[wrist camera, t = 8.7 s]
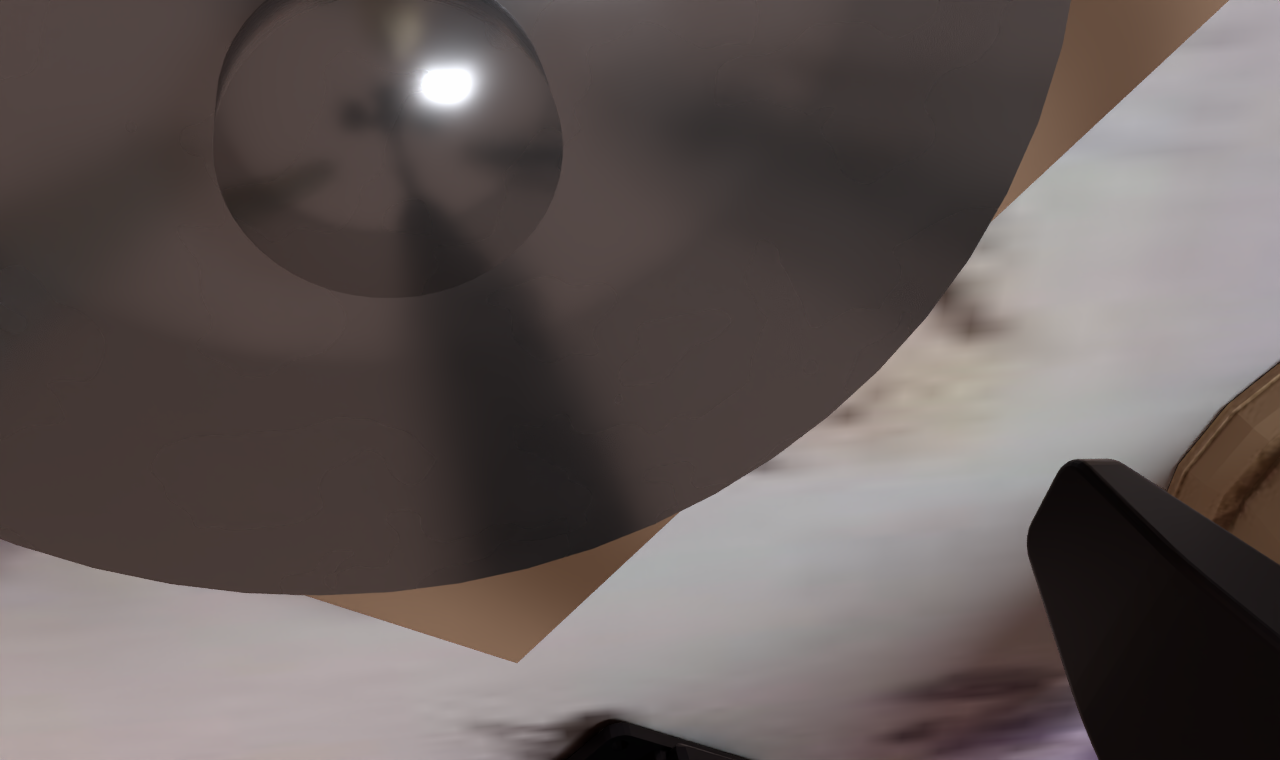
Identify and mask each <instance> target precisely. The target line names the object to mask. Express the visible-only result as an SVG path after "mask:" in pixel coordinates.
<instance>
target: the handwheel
mask: <svg viewBox="0 0 1280 760" xmlns="http://www.w3.org/2000/svg"><path fill="white" fill-rule="evenodd" d="M1070 3H1071V0H0V538H1V539H3V540H6V541H8V542H11V543H13V544H16V545H19V546H22V547H25V548H29V549H32V550H35V551H39V552H42V553H45V554H49V555H52V556H55V557H59V558H62V559H65V560H69V561H72V562H75V563H79V564H82V565H85V566H89V567H92V568H96V569H101V570H106V571H111V572H116V573H120V574H125V575H130V576H135V577H140V578H144V579H149V580H154V581H159V582H164V583H169V584H176V585H184V586H192V587H201V588H209V589H217V590H226V591H234V592H242V593H262V594H290V595H318V596H320V595H341V594H363V593H384V592H396V591H404V590H411V589H419V588H427V587H435V586H442V585H450V584H458V583H463V582H468V581H473V580H477V579H482V578H487V577H491V576H496V575H500V574H505V573H510V572H514V571H519V570H524V569H528V568H531V567H535V566H538V565H541V564H545V563H548V562H551V561H554V560H558V559H561V558H564V557H568V556H571V555H574V554H577V553H581V552H584V551H587V550H591V549H594V548H596V547H599V546H601V545H604V544H606V543H609V542H611V541H614V540H616V539H619V538H621V537H624V536H626V535H629V534H631V533H634V532H636V531H639V530H641V529H644V528H646V527H649V526H651V525H654V524H656V523H658V522H660V521H662V520H664V519H666V518H668V517H670V516H672V515H674V514H676V513H678V512H680V511H682V510H684V509H686V508H688V507H690V506H692V505H694V504H696V503H698V502H700V501H702V500H704V499H706V498H708V497H710V496H712V495H714V494H716V493H717V492H719V491H720V490H722V489H724V488H725V487H727V486H729V485H730V484H732V483H733V482H735V481H737V480H738V479H740V478H741V477H743V476H745V475H746V474H748V473H750V472H751V471H753V470H754V469H756V468H758V467H759V466H761V465H762V464H764V463H766V462H767V461H769V460H771V459H772V458H774V457H775V456H776V455H778V454H779V453H780V452H782V451H783V450H784V449H786V448H787V447H788V446H790V445H791V444H792V443H794V442H795V441H796V440H798V439H799V438H800V437H802V436H803V435H804V434H805V433H807V432H808V431H809V430H811V429H812V428H813V427H815V426H816V425H817V424H819V423H820V422H821V421H823V420H824V419H825V418H827V417H828V416H829V415H830V414H831V413H832V412H833V411H835V410H836V409H837V408H838V407H839V406H840V405H841V404H842V403H843V402H844V401H846V400H847V399H848V398H849V397H850V396H851V395H852V394H853V393H854V392H855V391H856V390H858V389H859V388H860V387H861V386H862V385H863V384H864V383H865V382H866V381H867V380H869V379H870V378H871V377H872V376H873V375H874V374H875V373H876V372H877V371H878V370H879V369H880V368H881V367H882V366H883V365H884V364H885V363H886V362H887V360H888V359H889V358H890V357H891V356H892V355H893V354H894V353H895V352H896V350H897V349H898V348H899V347H900V346H901V345H902V344H903V343H904V342H905V341H906V339H907V338H908V337H909V336H910V335H911V334H912V333H913V332H914V331H915V329H916V328H917V327H918V326H919V325H920V324H921V323H922V322H923V321H924V319H925V318H926V317H927V316H928V314H929V313H930V312H931V310H932V309H933V308H934V306H935V305H936V303H937V302H938V301H939V299H940V298H941V297H942V295H943V294H944V293H945V291H946V290H947V288H948V287H949V286H950V284H951V283H952V282H953V280H954V279H955V278H956V276H957V275H958V273H959V272H960V271H961V269H962V268H963V267H964V265H965V264H966V263H967V261H968V260H969V258H970V257H971V255H972V253H973V251H974V250H975V248H976V246H977V245H978V243H979V241H980V239H981V238H982V236H983V234H984V232H985V231H986V229H987V227H988V226H989V224H990V222H991V220H992V219H993V217H994V215H995V214H996V212H997V210H998V208H999V207H1000V205H1001V203H1002V202H1003V200H1004V198H1005V196H1006V195H1007V193H1008V190H1009V188H1010V186H1011V184H1012V181H1013V179H1014V177H1015V174H1016V172H1017V170H1018V168H1019V165H1020V163H1021V161H1022V159H1023V156H1024V154H1025V152H1026V150H1027V147H1028V145H1029V143H1030V141H1031V138H1032V136H1033V134H1034V132H1035V129H1036V127H1037V125H1038V122H1039V119H1040V116H1041V113H1042V110H1043V106H1044V103H1045V100H1046V97H1047V94H1048V90H1049V87H1050V84H1051V81H1052V78H1053V74H1054V71H1055V68H1056V65H1057V62H1058V58H1059V55H1060V52H1061V49H1062V46H1063V40H1064V35H1065V30H1066V24H1067V19H1068V14H1069V8H1070Z"/></svg>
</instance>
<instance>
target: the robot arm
mask: <svg viewBox="0 0 1280 760" xmlns="http://www.w3.org/2000/svg"><path fill="white" fill-rule="evenodd" d="M1027 550H1028V556H1029V560H1030V563H1031V566H1032V570H1033V573H1034V576H1035V579H1036V582H1037V585H1038V588H1039V591H1040V594H1041V598H1042V601H1043V604H1044V607H1045V610H1046V613H1047V616H1048V619H1049V622H1050V626H1051V629H1052V632H1053V635H1054V638H1055V641H1056V644H1057V647H1058V651H1059V654H1060V657H1061V660H1062V663H1063V666H1064V669H1065V672H1066V675H1067V679H1068V682H1069V685H1070V688H1071V691H1072V694H1073V697H1074V699H1075V702H1076V705H1077V708H1078V711H1079V714H1080V716H1081V719H1082V721H1083V724H1084V726H1085V729H1086V731H1087V734H1088V736H1089V739H1090V741H1091V744H1092V746H1093V748H1094V750H1095V753H1096V755H1097V757H1098V760H1280V565H1279V564H1278V563H1276V562H1275V561H1273V560H1272V559H1270V558H1269V557H1267V556H1265V555H1264V554H1262V553H1261V552H1259V551H1258V550H1256V549H1255V548H1253V547H1251V546H1250V545H1248V544H1247V543H1245V542H1244V541H1242V540H1241V539H1239V538H1238V537H1236V536H1234V535H1233V534H1231V533H1230V532H1228V531H1227V530H1225V529H1224V528H1222V527H1220V526H1219V525H1217V524H1216V523H1214V522H1213V521H1211V520H1210V519H1208V518H1207V517H1205V516H1203V515H1202V514H1200V513H1199V512H1197V511H1196V510H1194V509H1193V508H1191V507H1189V506H1188V505H1186V504H1185V503H1183V502H1182V501H1180V500H1179V499H1177V498H1176V497H1174V496H1172V495H1171V494H1169V493H1168V492H1166V491H1165V490H1163V489H1162V488H1160V487H1158V486H1157V485H1155V484H1154V483H1152V482H1151V481H1149V480H1148V479H1146V478H1145V477H1143V476H1141V475H1140V474H1138V473H1137V472H1135V471H1134V470H1132V469H1131V468H1129V467H1127V466H1126V465H1124V464H1123V463H1121V462H1119V461H1116V460H1112V459H1075V460H1071V461H1068V462H1067V463H1066V464H1065V465H1063V466H1062V467H1061V468H1060V470H1059V471H1058V473H1057V475H1056V476H1055V478H1054V480H1053V482H1052V484H1051V486H1050V488H1049V490H1048V492H1047V494H1046V496H1045V497H1044V499H1043V501H1042V503H1041V505H1040V507H1039V509H1038V511H1037V513H1036V515H1035V517H1034V518H1033V520H1032V522H1031V525H1030V527H1029V530H1028V535H1027ZM568 760H747V759H744V758H741V757H738V756H734V755H731V754H728V753H724V752H721V751H718V750H715V749H711V748H708V747H705V746H701V745H698V744H695V743H692V742H688V741H685V740H682V739H678V738H675V737H672V736H669V735H665V734H662V733H659V732H655V731H652V730H649V729H646V728H642V727H639V726H636V725H632V724H629V723H623V722H622V723H615V724H612V725H609V726H607V727H606V728H604V729H603V730H601V731H600V732H599V733H598V734H597V735H596V736H594V737H593V738H592V739H591V740H590V741H589V742H587V743H586V744H585V745H584V746H583V747H582V748H580V749H579V750H578V751H577V752H576V753H575V754H573V755H572V756H571V757H570V758H569V759H568Z"/></svg>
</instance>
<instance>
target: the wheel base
mask: <svg viewBox="0 0 1280 760" xmlns="http://www.w3.org/2000/svg"><path fill="white" fill-rule="evenodd" d="M1228 1H1229V0H1071V3H1070V8H1069V14H1068V19H1067V24H1066V30H1065V35H1064V40H1063V46H1062V49H1061V52H1060V55H1059V58H1058V62H1057V65H1056V68H1055V71H1054V74H1053V78H1052V81H1051V84H1050V87H1049V90H1048V94H1047V97H1046V100H1045V103H1044V106H1043V110H1042V113H1041V116H1040V119H1039V122H1038V125H1037V127H1036V129H1035V132H1034V134H1033V136H1032V138H1031V141H1030V143H1029V145H1028V147H1027V150H1026V152H1025V154H1024V156H1023V159H1022V161H1021V163H1020V165H1019V168H1018V170H1017V172H1016V174H1015V177H1014V179H1013V181H1012V184H1011V186H1010V188H1009V190H1008V193H1007V195H1006V196H1005V198H1004V200H1003V202H1002V203H1001V205H1000V207H999V208H998V210H997V212H996V214H995V215H994V217H993V219H995V218H996V217H997V216H998V215H999V214H1000V213H1001V212H1002V211H1003V210H1004V209H1005V208H1006V207H1007V206H1009V205H1010V204H1011V203H1012V202H1013V201H1014V200H1015V199H1016V198H1017V197H1018V196H1019V195H1020V194H1021V193H1022V192H1024V191H1025V190H1026V189H1027V188H1028V187H1029V186H1030V185H1031V184H1032V183H1033V182H1034V181H1035V180H1036V179H1037V178H1039V177H1040V176H1041V175H1042V174H1043V173H1044V172H1045V171H1046V170H1047V169H1048V168H1049V167H1050V166H1051V165H1053V164H1054V163H1055V162H1056V161H1057V160H1058V159H1059V158H1060V157H1061V156H1062V155H1063V154H1064V153H1065V152H1066V151H1068V150H1069V149H1070V148H1071V147H1072V146H1073V145H1074V144H1075V143H1076V142H1077V141H1078V140H1079V139H1080V138H1082V137H1083V136H1084V135H1085V134H1086V133H1087V132H1088V131H1089V130H1090V129H1091V128H1092V127H1093V126H1094V125H1095V124H1097V123H1098V122H1099V121H1100V120H1101V119H1102V118H1103V117H1104V116H1105V115H1106V114H1107V113H1108V112H1109V111H1111V110H1112V109H1113V108H1114V107H1115V106H1116V105H1117V104H1118V103H1119V102H1120V101H1121V100H1122V99H1123V98H1124V97H1126V96H1127V95H1128V94H1129V93H1130V92H1131V91H1132V90H1133V89H1134V88H1135V87H1136V86H1137V85H1138V84H1140V83H1141V82H1142V81H1143V80H1144V79H1145V78H1146V77H1147V76H1148V75H1149V74H1150V73H1151V72H1152V71H1153V70H1155V69H1156V68H1157V67H1158V66H1159V65H1160V64H1161V63H1162V62H1163V61H1164V60H1165V59H1166V58H1167V57H1169V56H1170V55H1171V54H1172V53H1173V52H1174V51H1175V50H1176V49H1177V48H1178V47H1179V46H1180V45H1181V44H1182V43H1184V42H1185V41H1186V40H1187V39H1188V38H1189V37H1190V36H1191V35H1192V34H1193V33H1194V32H1195V31H1196V30H1198V29H1199V28H1200V27H1201V26H1202V25H1203V24H1204V23H1205V22H1206V21H1207V20H1208V19H1209V18H1210V17H1211V16H1213V15H1214V14H1215V13H1216V12H1217V11H1218V10H1219V9H1220V8H1221V7H1222V6H1223V5H1224V4H1225V3H1227V2H1228ZM993 219H992V220H993ZM992 220H991V221H992ZM678 513H679V512H678ZM678 513H676V514H674V515H672V516H670V517H668V518H666V519H664V520H662V521H660V522H658V523H656V524H654V525H651V526H649V527H646V528H644V529H641V530H639V531H636V532H634V533H631V534H629V535H626V536H624V537H621V538H619V539H616V540H614V541H611V542H609V543H606V544H604V545H601V546H599V547H596V548H594V549H591V550H587V551H584V552H581V553H577V554H574V555H571V556H568V557H564V558H561V559H558V560H554V561H551V562H548V563H545V564H541V565H538V566H535V567H531V568H528V569H524V570H519V571H514V572H510V573H505V574H500V575H496V576H491V577H487V578H482V579H477V580H473V581H468V582H463V583H458V584H450V585H442V586H435V587H427V588H419V589H411V590H404V591H396V592H384V593H363V594H341V595H320V596H318V595H305V596H309V597H312V598H315V599H318V600H321V601H324V602H327V603H330V604H334V605H337V606H340V607H343V608H346V609H349V610H352V611H356V612H359V613H362V614H365V615H368V616H371V617H374V618H377V619H381V620H384V621H387V622H390V623H393V624H396V625H399V626H402V627H406V628H409V629H412V630H415V631H418V632H421V633H424V634H427V635H431V636H434V637H437V638H440V639H443V640H446V641H449V642H452V643H456V644H459V645H462V646H465V647H468V648H471V649H474V650H477V651H481V652H484V653H487V654H490V655H493V656H496V657H499V658H503V659H506V660H509V661H512V662H515V663H518V662H519V661H520V660H521V659H522V658H523V657H524V656H525V655H526V654H527V653H528V652H529V651H531V650H532V649H533V648H534V647H535V646H536V645H537V644H538V643H539V642H540V641H541V640H542V639H543V638H545V637H546V636H547V635H548V634H549V633H550V632H551V631H552V630H553V629H554V628H555V627H556V626H557V625H558V624H560V623H561V622H562V621H563V620H564V619H565V618H566V617H567V616H568V615H569V614H570V613H571V612H572V611H574V610H575V609H576V608H577V607H578V606H579V605H580V604H581V603H582V602H583V601H584V600H585V599H586V598H587V597H589V596H590V595H591V594H592V593H593V592H594V591H595V590H596V589H597V588H598V587H599V586H600V585H601V584H603V583H604V582H605V581H606V580H607V579H608V578H609V577H610V576H611V575H612V574H613V573H614V572H615V571H616V570H618V569H619V568H620V567H621V566H622V565H623V564H624V563H625V562H626V561H627V560H628V559H629V558H630V557H632V556H633V555H634V554H635V553H636V552H637V551H638V550H639V549H640V548H641V547H642V546H643V545H644V544H645V543H647V542H648V541H649V540H650V539H651V538H652V537H653V536H654V535H655V534H656V533H657V532H658V531H659V530H661V529H662V528H663V527H664V526H665V525H666V524H667V523H668V522H669V521H670V520H671V519H672V518H673V517H674V516H676V515H677V514H678Z"/></svg>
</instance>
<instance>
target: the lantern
mask: <svg viewBox="0 0 1280 760" xmlns="http://www.w3.org/2000/svg"><path fill="white" fill-rule="evenodd" d="M1167 492H1168V493H1169V494H1171V495H1172V496H1174V497H1176V498H1177V499H1179V500H1180V501H1182V502H1183V503H1185V504H1186V505H1188V506H1189V507H1191V508H1193V509H1194V510H1196V511H1197V512H1199V513H1200V514H1202V515H1203V516H1205V517H1207V518H1208V519H1210V520H1211V521H1213V522H1214V523H1216V524H1217V525H1219V526H1220V527H1222V528H1224V529H1225V530H1227V531H1228V532H1230V533H1231V534H1233V535H1234V536H1236V537H1238V538H1239V539H1241V540H1242V541H1244V542H1245V543H1247V544H1248V545H1250V546H1251V547H1253V548H1255V549H1256V550H1258V551H1259V552H1261V553H1262V554H1264V555H1265V556H1267V557H1269V558H1270V559H1272V560H1273V561H1275V562H1276V563H1278V564H1279V565H1280V363H1279V364H1278V365H1276V366H1275V367H1274V368H1273V369H1271V370H1270V371H1269V372H1268V373H1266V374H1265V375H1264V376H1263V377H1261V378H1260V379H1259V380H1258V381H1256V382H1255V383H1254V384H1253V385H1251V386H1250V387H1249V388H1248V389H1246V390H1245V391H1244V392H1243V393H1241V394H1240V395H1239V396H1238V397H1236V398H1235V399H1234V400H1233V401H1231V402H1230V403H1229V404H1228V405H1227V406H1226V407H1225V408H1224V409H1223V411H1222V412H1221V413H1220V414H1219V416H1218V417H1217V418H1216V419H1215V420H1214V422H1213V423H1212V424H1211V425H1210V427H1209V428H1208V429H1207V430H1206V431H1205V433H1204V434H1203V435H1202V436H1201V438H1200V439H1199V440H1198V441H1197V442H1196V444H1195V445H1194V446H1193V447H1192V448H1191V450H1190V451H1189V452H1188V453H1187V455H1186V456H1185V457H1184V458H1183V459H1182V461H1181V462H1180V463H1179V464H1178V467H1177V469H1176V471H1175V474H1174V476H1173V479H1172V481H1171V483H1170V486H1169V488H1168V491H1167Z"/></svg>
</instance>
